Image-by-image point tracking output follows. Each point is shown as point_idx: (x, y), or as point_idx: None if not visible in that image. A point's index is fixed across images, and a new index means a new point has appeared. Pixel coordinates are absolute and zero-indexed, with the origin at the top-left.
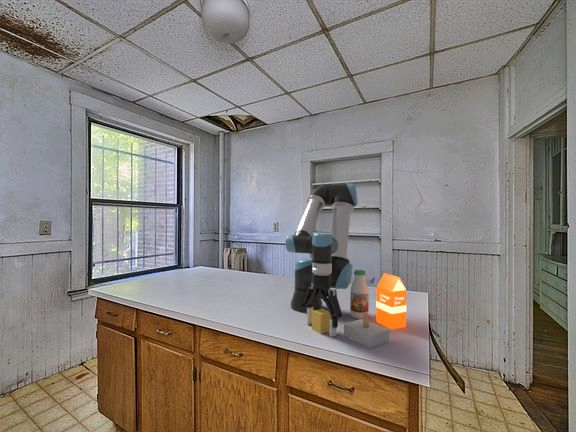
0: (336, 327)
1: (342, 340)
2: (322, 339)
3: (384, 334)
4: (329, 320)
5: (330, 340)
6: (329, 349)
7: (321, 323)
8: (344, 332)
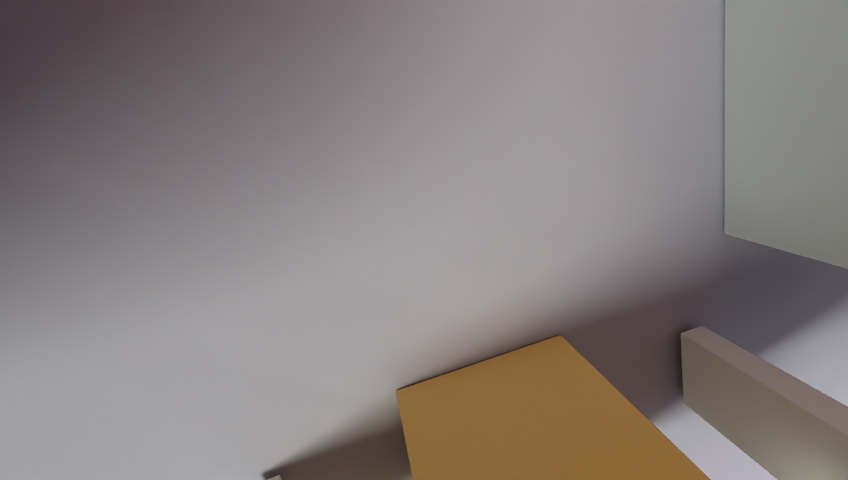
0: (802, 383)
1: (797, 309)
2: None
3: None
4: (668, 457)
5: None
6: None
7: None
8: (769, 239)
